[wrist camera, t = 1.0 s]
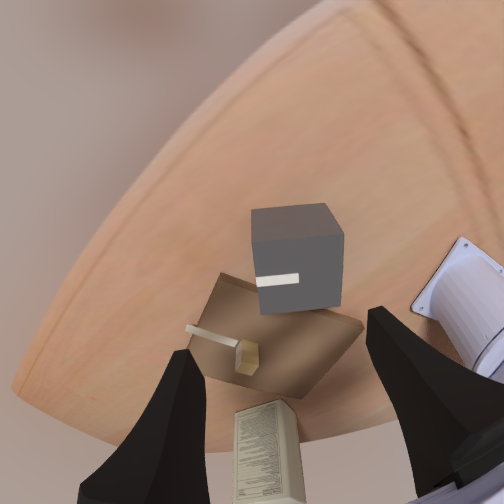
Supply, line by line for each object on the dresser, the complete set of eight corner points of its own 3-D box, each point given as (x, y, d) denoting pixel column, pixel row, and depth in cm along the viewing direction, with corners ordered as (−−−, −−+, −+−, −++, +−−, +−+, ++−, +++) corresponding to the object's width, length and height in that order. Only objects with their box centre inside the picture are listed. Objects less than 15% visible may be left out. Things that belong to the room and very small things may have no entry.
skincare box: (252, 426, 34) (252, 513, 23) (232, 411, 32) (229, 506, 22) (298, 412, 33) (308, 505, 22) (282, 396, 31) (290, 498, 20)
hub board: (361, 321, 26) (372, 349, 22) (300, 391, 30) (303, 418, 27) (209, 268, 23) (203, 296, 20) (172, 357, 28) (165, 385, 25)
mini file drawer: (325, 202, 20) (344, 234, 16) (325, 266, 23) (340, 307, 18) (251, 209, 21) (251, 243, 16) (258, 272, 23) (260, 316, 19)
